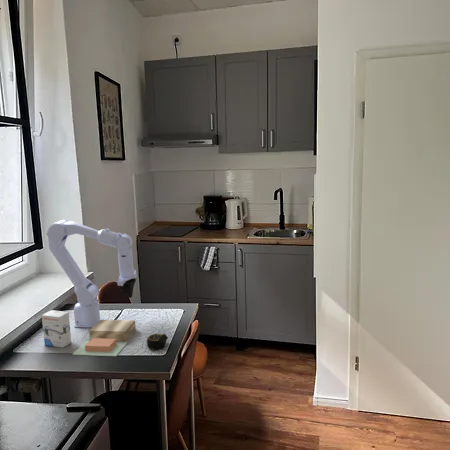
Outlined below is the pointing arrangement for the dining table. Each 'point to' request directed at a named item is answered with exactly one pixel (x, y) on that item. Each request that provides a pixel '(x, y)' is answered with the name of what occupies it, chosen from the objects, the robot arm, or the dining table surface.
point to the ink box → (56, 328)
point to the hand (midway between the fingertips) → (129, 297)
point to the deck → (113, 329)
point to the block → (100, 345)
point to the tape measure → (156, 341)
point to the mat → (113, 352)
